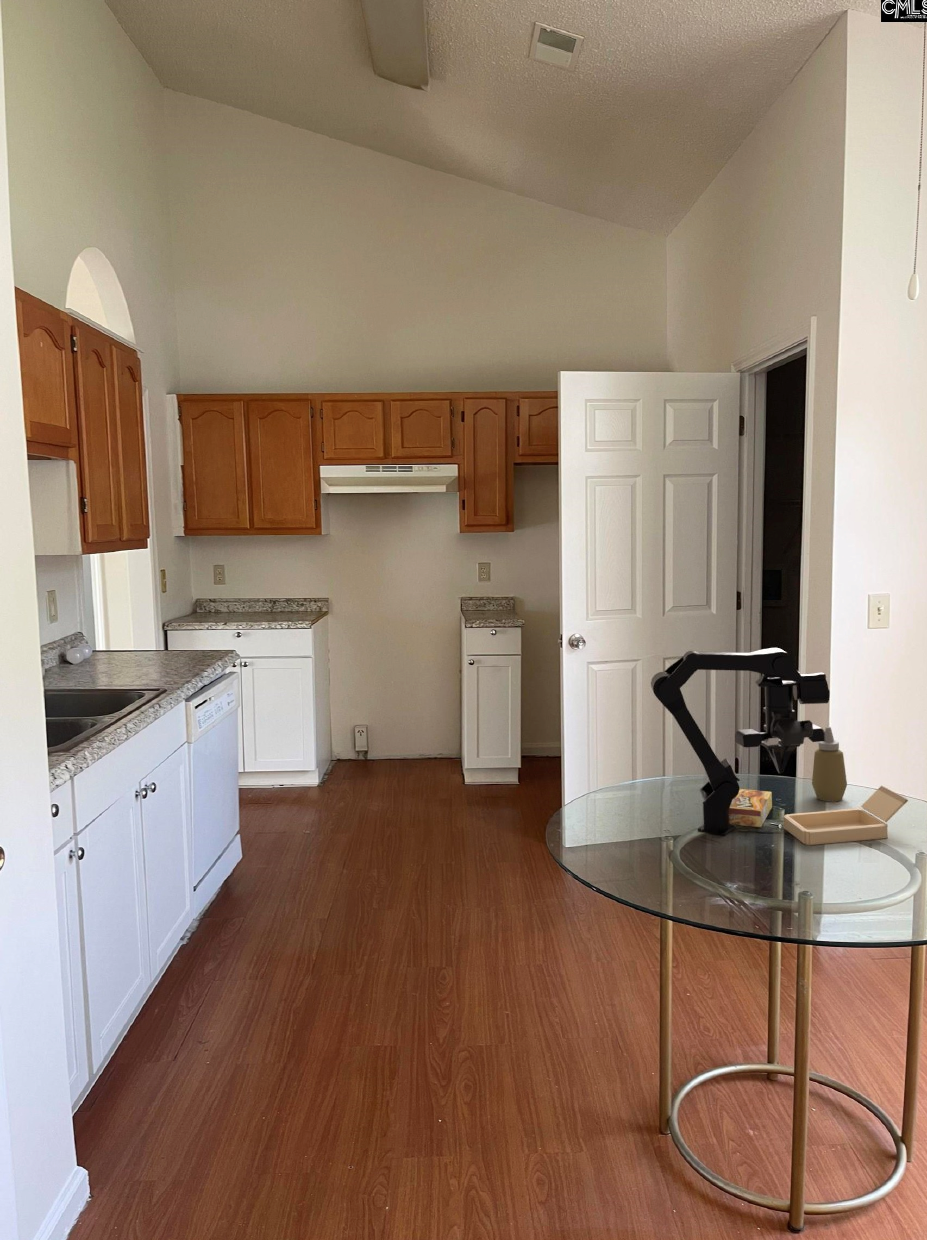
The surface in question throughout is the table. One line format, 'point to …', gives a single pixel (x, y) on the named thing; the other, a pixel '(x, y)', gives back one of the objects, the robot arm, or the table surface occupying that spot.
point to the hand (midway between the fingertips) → (780, 772)
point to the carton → (834, 826)
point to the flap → (884, 803)
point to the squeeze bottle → (829, 770)
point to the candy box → (750, 808)
